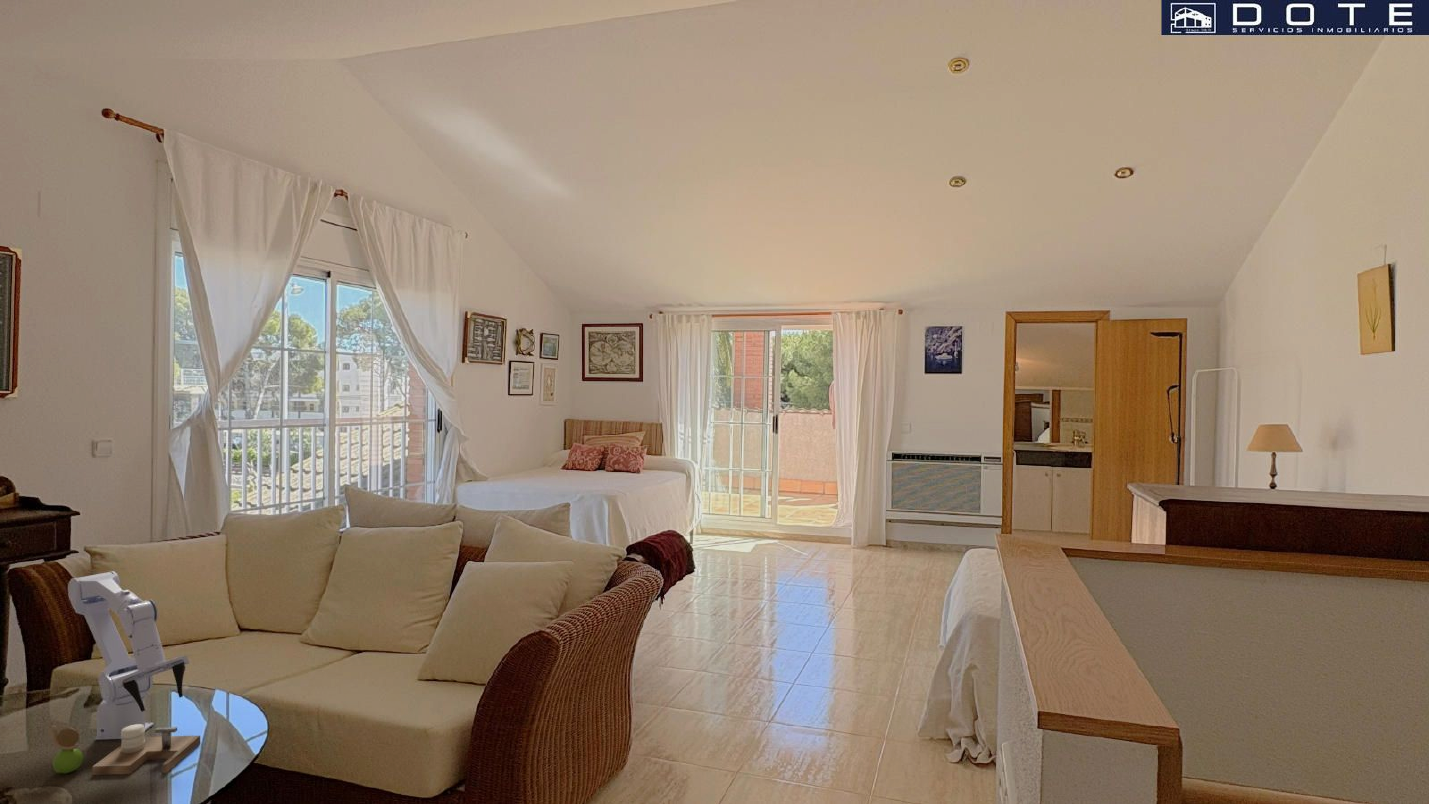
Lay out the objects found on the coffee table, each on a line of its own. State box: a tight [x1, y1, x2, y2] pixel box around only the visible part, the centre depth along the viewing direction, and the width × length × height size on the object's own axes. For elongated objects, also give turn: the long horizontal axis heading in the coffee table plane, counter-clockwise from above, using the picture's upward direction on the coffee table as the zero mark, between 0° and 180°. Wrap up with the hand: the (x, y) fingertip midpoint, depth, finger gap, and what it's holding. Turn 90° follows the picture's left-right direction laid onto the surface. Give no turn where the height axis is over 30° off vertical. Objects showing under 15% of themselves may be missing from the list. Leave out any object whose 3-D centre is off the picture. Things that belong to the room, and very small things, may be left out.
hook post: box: [154, 726, 178, 750], centre depth 190 cm, size 4×2×5 cm, turn 96°
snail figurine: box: [48, 720, 84, 774], centre depth 182 cm, size 5×6×12 cm
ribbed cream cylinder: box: [120, 724, 146, 753], centre depth 189 cm, size 5×5×5 cm
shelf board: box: [92, 735, 201, 776], centre depth 189 cm, size 16×14×2 cm
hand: (162, 703), depth 191 cm, fingers open, 7 cm apart
